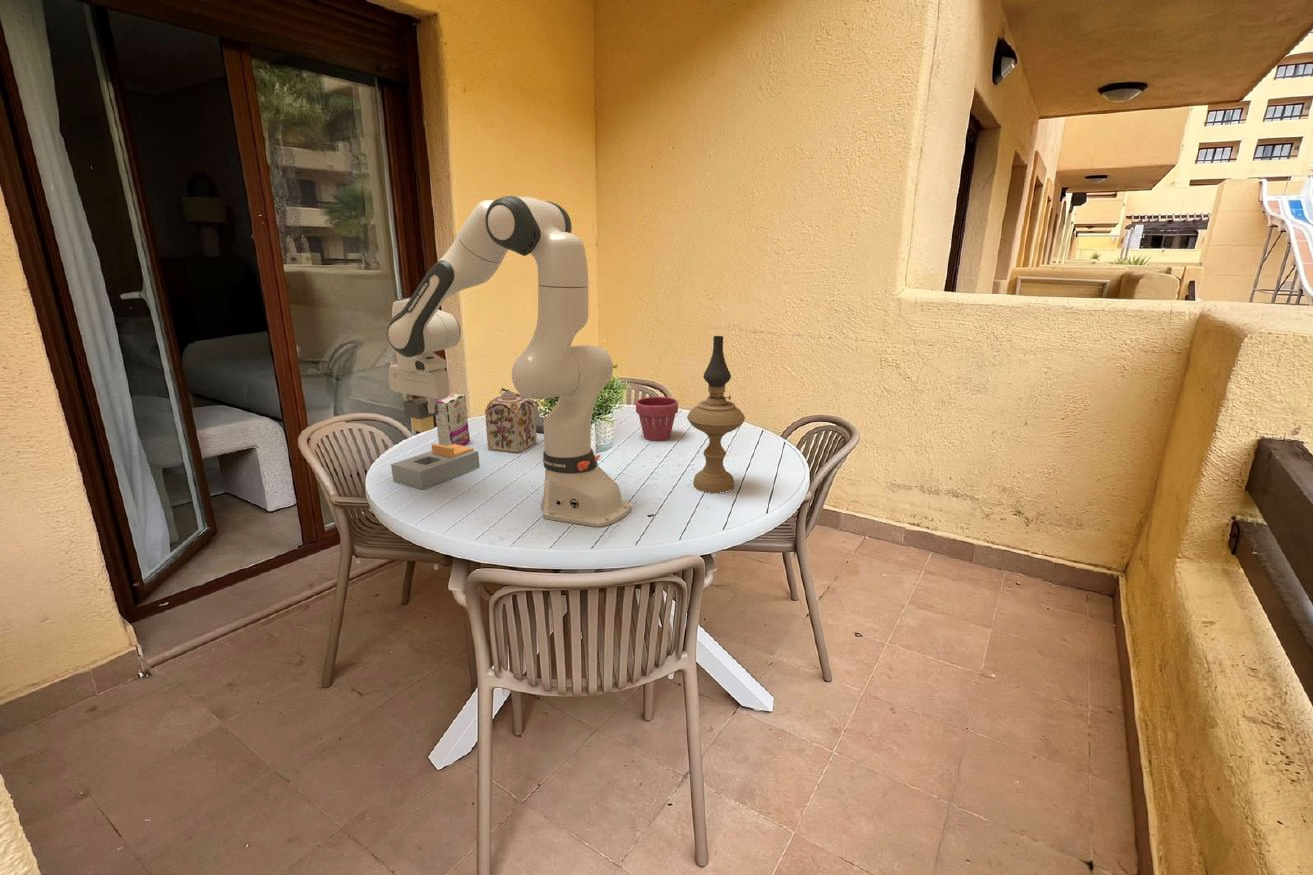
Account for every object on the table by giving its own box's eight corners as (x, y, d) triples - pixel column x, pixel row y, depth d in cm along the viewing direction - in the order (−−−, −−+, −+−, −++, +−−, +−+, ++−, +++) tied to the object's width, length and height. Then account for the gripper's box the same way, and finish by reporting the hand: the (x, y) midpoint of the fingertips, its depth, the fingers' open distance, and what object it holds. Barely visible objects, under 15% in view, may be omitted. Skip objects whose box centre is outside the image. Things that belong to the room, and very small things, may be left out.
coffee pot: (564, 425, 214) (562, 385, 210) (558, 434, 203) (556, 392, 199) (507, 424, 215) (504, 384, 211) (498, 433, 204) (494, 391, 200)
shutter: (473, 450, 170) (472, 441, 169) (451, 457, 163) (450, 448, 163) (454, 445, 174) (453, 437, 173) (432, 453, 167) (431, 444, 166)
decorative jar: (487, 450, 186) (482, 395, 181) (506, 439, 197) (502, 387, 192) (519, 453, 183) (515, 397, 177) (538, 443, 193) (535, 390, 188)
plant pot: (629, 440, 196) (628, 403, 193) (646, 429, 209) (645, 394, 205) (668, 445, 191) (669, 407, 187) (683, 434, 204) (684, 398, 200)
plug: (440, 428, 160) (436, 399, 157) (421, 433, 155) (418, 404, 152) (425, 425, 162) (422, 397, 160) (406, 430, 158) (403, 401, 155)
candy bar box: (456, 441, 195) (451, 393, 190) (470, 442, 194) (465, 394, 189) (438, 451, 185) (432, 401, 180) (452, 452, 184) (447, 402, 179)
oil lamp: (727, 500, 147) (733, 342, 135) (675, 489, 154) (677, 337, 143) (750, 482, 159) (757, 335, 148) (701, 472, 167) (705, 331, 155)
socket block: (479, 467, 170) (478, 451, 169) (422, 489, 154) (420, 472, 152) (451, 460, 176) (449, 444, 175) (393, 481, 160) (390, 464, 158)
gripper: (379, 358, 155) (386, 408, 159) (431, 365, 146) (437, 419, 150) (400, 355, 161) (406, 404, 165) (451, 362, 151) (456, 413, 155)
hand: (421, 411), depth 157 cm, fingers closed on plug, 6 cm apart
